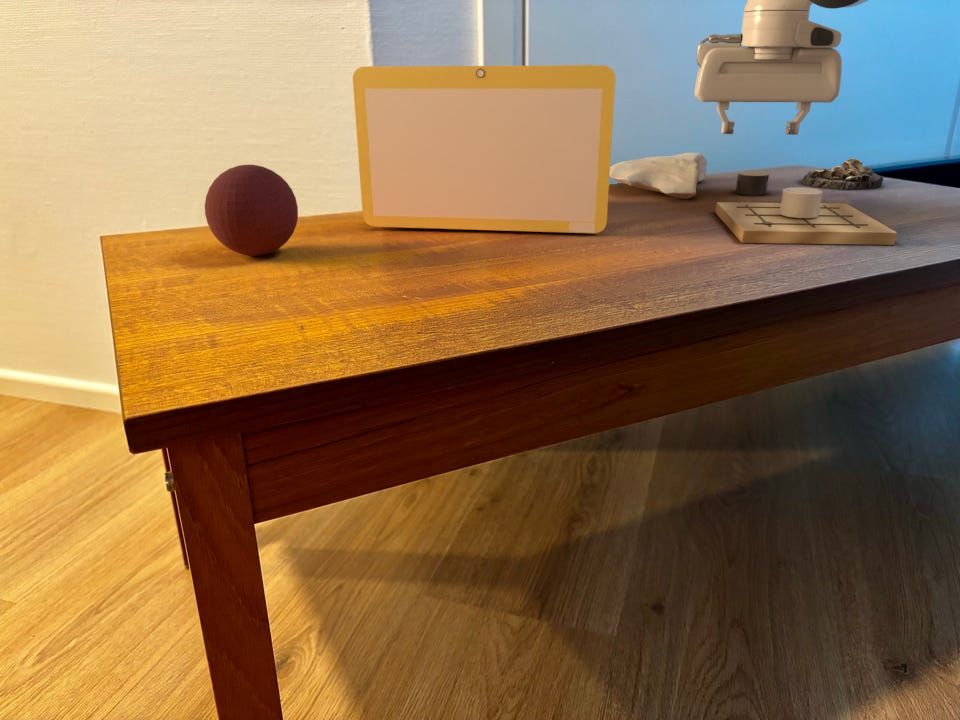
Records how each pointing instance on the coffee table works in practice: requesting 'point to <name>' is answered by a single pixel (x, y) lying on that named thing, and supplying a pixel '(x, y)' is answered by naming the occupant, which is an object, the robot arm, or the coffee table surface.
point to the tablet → (485, 146)
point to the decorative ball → (251, 210)
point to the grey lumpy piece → (844, 177)
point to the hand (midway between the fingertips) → (758, 134)
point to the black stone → (752, 183)
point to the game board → (803, 225)
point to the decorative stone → (663, 173)
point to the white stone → (800, 202)
